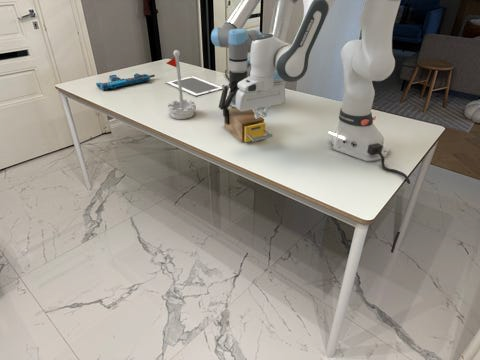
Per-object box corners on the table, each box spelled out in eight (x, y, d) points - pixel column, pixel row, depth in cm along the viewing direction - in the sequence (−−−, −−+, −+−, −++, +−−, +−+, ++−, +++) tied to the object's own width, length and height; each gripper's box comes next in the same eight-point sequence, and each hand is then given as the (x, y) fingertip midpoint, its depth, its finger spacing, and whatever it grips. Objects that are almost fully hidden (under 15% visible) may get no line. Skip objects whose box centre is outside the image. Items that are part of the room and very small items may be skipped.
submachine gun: (140, 68, 225) (159, 74, 209) (141, 73, 227) (159, 80, 211) (88, 78, 207) (104, 85, 190) (90, 84, 209) (106, 92, 192)
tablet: (166, 82, 208) (166, 82, 207) (193, 76, 219) (193, 76, 219) (195, 96, 187) (195, 95, 187) (224, 88, 198) (224, 87, 198)
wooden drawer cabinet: (263, 137, 145) (264, 118, 140) (241, 142, 141) (241, 123, 136) (244, 122, 157) (244, 105, 153) (224, 127, 153) (223, 109, 149)
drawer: (272, 143, 138) (273, 128, 134) (252, 148, 134) (253, 133, 131) (247, 123, 154) (247, 110, 150) (228, 127, 150) (228, 114, 147)
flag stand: (192, 108, 172) (187, 46, 156) (199, 117, 162) (194, 52, 146) (166, 111, 169) (158, 48, 152) (172, 121, 158) (164, 54, 142)
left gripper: (258, 65, 145) (256, 113, 158) (208, 71, 137) (211, 122, 149) (267, 69, 140) (265, 119, 152) (216, 76, 131) (218, 129, 143)
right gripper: (280, 75, 131) (278, 110, 138) (233, 83, 123) (233, 119, 130) (290, 80, 126) (287, 115, 133) (241, 88, 118) (241, 125, 126)
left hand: (238, 121), depth 150 cm, fingers closed on wooden drawer cabinet, 10 cm apart
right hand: (260, 117), depth 132 cm, fingers closed
